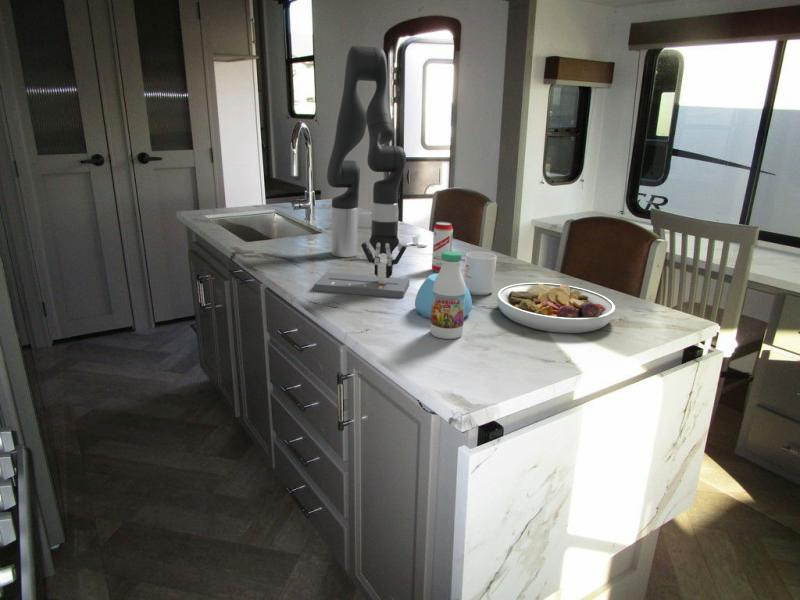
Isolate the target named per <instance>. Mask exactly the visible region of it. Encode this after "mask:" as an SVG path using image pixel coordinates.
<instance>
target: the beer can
mask: <svg viewBox="0 0 800 600" xmlns="http://www.w3.org/2000/svg"><path fill="white" fill-rule="evenodd" d="M453 233H454V229H453V226H452V223H451V222H448V221H437V222H435V225H434V227H433V237H432V240H433V241H432V242H433V243H432V255H431V269H432V270H433V272H436V273H439V272H440V269H441V266H442V262H441V260H442V259H441V255H442V252H444V251H453V250H452V249H453Z"/></svg>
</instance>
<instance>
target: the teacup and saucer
mask: <svg viewBox="0 0 800 600" xmlns="http://www.w3.org/2000/svg"><path fill="white" fill-rule="evenodd" d="M421 239H422V238H421V235H417V234H415V235H412V236H411V240H412V242H408V243H406V244H405V245H407V247H411V248H415V247H418V248H425V247H427V246H428V243H426V242H421ZM411 244H413V246H412V245H411Z"/></svg>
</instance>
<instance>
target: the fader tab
mask: <svg viewBox="0 0 800 600" xmlns="http://www.w3.org/2000/svg"><path fill="white" fill-rule="evenodd" d="M387 266H388V263H387V258H380V261H379V263H378V276H377V275H376V276H377V281H378V284H386V282H387V280H388V278H387Z"/></svg>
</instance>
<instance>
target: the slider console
mask: <svg viewBox="0 0 800 600" xmlns="http://www.w3.org/2000/svg"><path fill="white" fill-rule="evenodd" d="M410 281H411V279H410V278H406V277H405V278H404V277H402V278H401V277H393V276H390V278H388V280H387V282H386V284H378V281H377V275H366V274H365V275H364V274H353V273H340V272H327V271H326V272H325V273H324V274H323V275H322V276H321V277H320V278H319V279H318V280H317V281H316V282H315V283H314V284H313V285H314V286H313V287H314V288H313V291H314V292H315V291H316V292H325V293H336V294H348V295H349V294H350V295H360V296H361V295H363V296H373V297H374V296H375V297H386V298H387V297H388V298H397V299H404V297H405V295H406V293H407V292H408V289H409V287H410Z"/></svg>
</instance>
